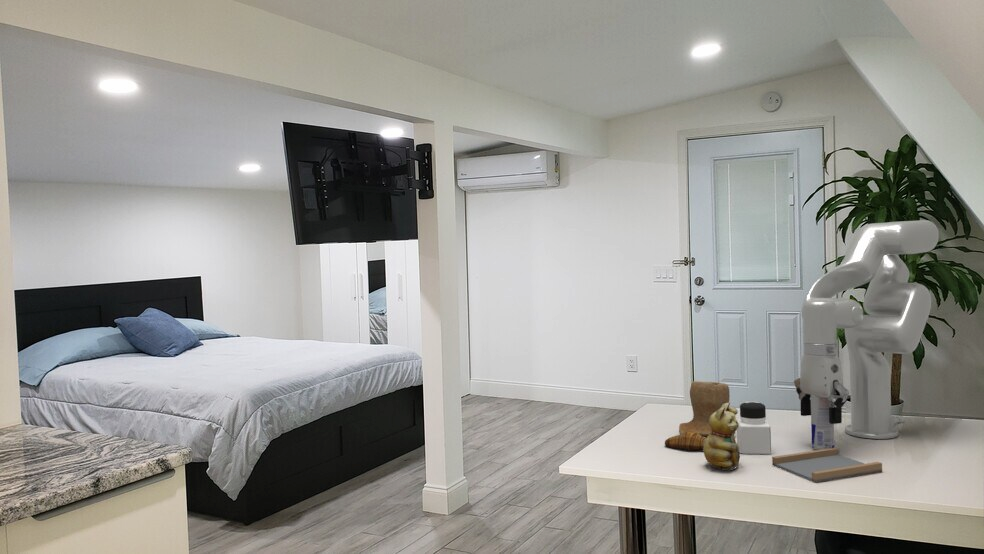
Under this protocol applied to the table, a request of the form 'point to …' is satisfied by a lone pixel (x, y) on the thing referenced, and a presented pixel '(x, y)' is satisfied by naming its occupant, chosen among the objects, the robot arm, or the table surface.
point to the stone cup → (705, 405)
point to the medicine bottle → (753, 429)
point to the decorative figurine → (722, 439)
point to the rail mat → (824, 465)
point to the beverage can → (821, 424)
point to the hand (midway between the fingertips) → (820, 419)
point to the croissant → (686, 441)
